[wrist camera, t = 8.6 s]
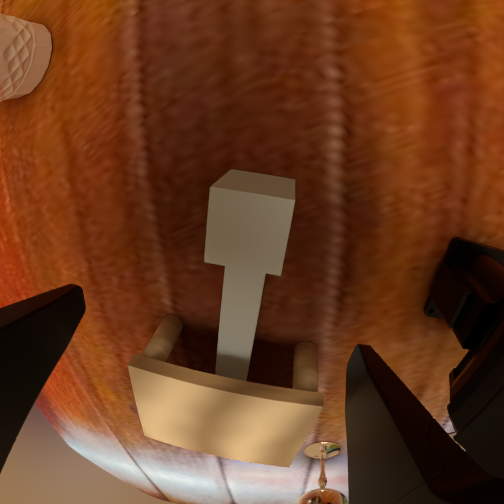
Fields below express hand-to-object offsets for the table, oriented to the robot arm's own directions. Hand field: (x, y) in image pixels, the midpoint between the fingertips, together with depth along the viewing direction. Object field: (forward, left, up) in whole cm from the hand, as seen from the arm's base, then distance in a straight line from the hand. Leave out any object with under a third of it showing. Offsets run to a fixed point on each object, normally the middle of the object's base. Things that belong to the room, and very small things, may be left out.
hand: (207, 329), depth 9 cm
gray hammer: (0, +8, -12) cm, 14 cm away
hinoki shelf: (0, +15, -12) cm, 19 cm away
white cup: (+21, -11, -12) cm, 26 cm away
